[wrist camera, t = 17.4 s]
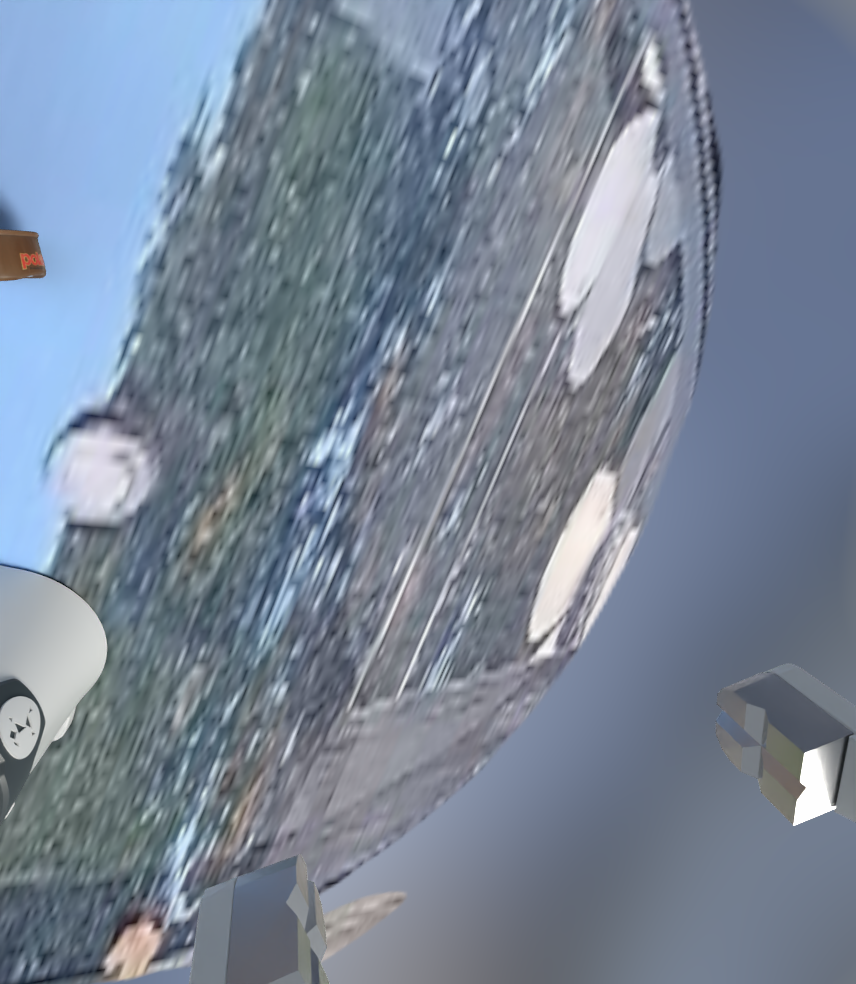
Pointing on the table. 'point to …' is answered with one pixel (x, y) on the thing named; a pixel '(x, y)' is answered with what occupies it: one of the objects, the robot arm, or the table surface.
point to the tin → (20, 255)
